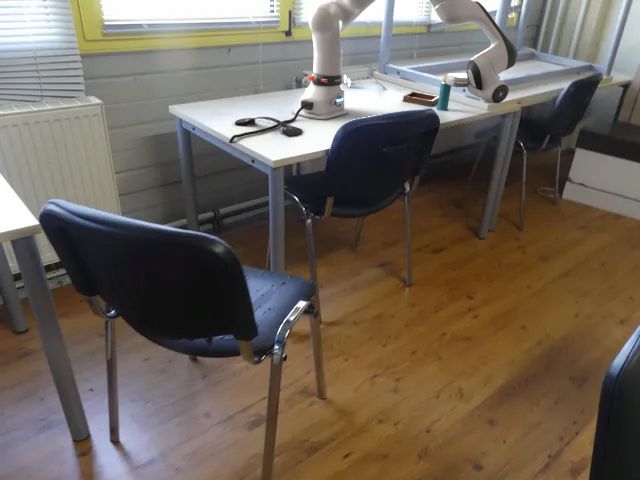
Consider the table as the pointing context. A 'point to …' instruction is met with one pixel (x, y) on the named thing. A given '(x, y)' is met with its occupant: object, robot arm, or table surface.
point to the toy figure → (444, 95)
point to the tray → (421, 98)
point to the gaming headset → (286, 129)
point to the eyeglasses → (353, 81)
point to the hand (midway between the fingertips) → (462, 76)
